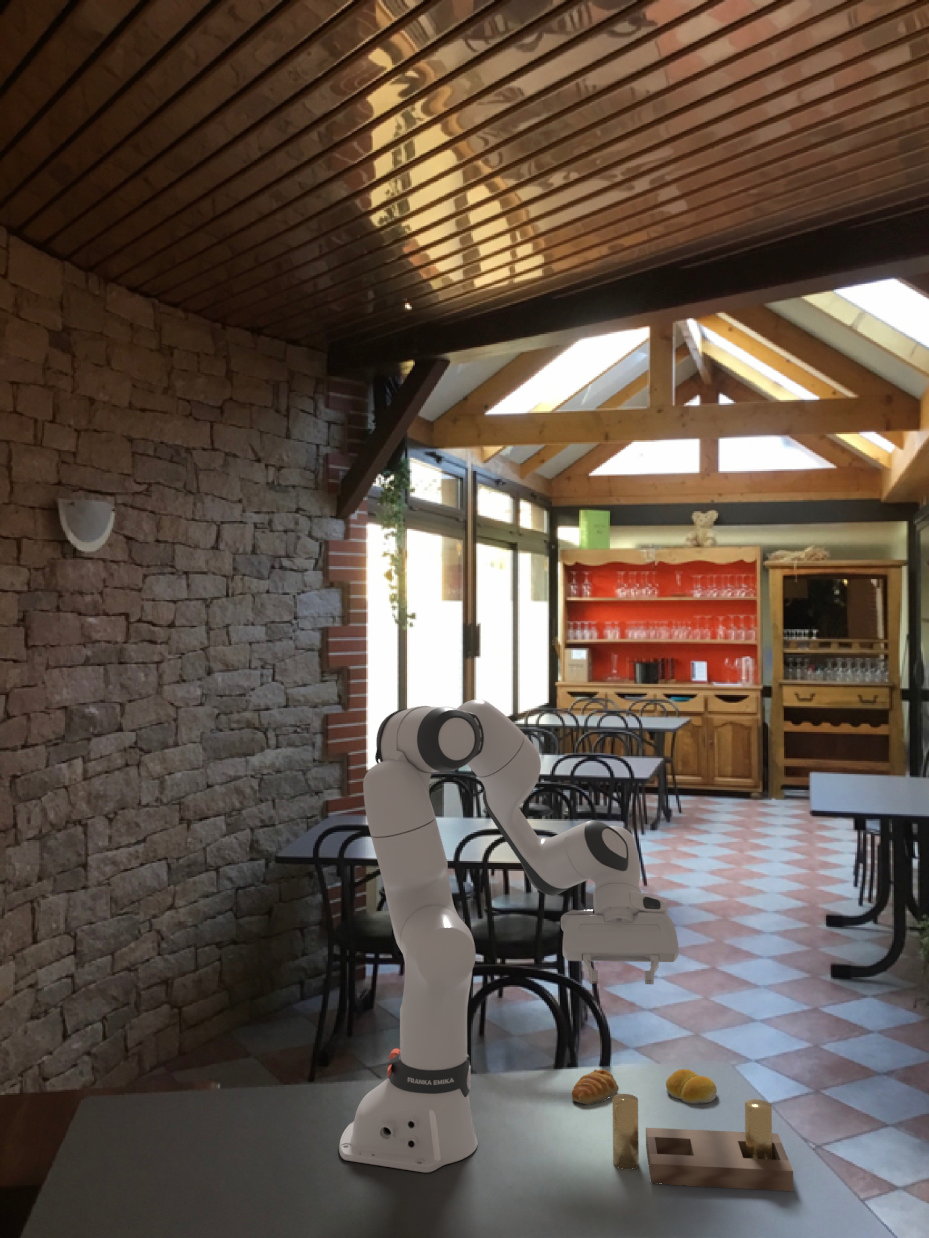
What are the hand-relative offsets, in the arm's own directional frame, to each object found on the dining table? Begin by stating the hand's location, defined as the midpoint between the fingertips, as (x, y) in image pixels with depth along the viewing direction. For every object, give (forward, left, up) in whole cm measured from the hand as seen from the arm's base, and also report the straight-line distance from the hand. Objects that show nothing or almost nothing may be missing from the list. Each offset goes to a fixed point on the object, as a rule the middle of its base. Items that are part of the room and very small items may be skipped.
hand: (621, 982), depth 178 cm
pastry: (-5, +11, -24) cm, 27 cm away
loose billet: (0, -14, -24) cm, 28 cm away
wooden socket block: (+14, -14, -24) cm, 31 cm away
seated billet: (+20, -14, -24) cm, 34 cm away
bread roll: (+13, +13, -24) cm, 31 cm away
